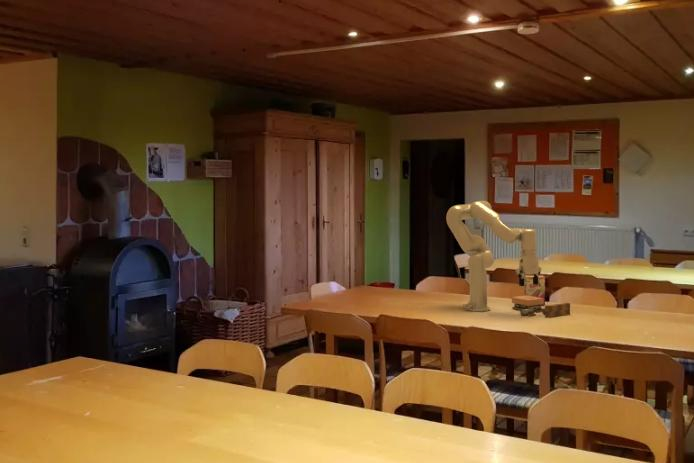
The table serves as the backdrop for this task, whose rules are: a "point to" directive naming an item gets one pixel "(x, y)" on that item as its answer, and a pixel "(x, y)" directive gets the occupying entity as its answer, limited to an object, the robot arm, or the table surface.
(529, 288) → the candy bar box
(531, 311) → the roller
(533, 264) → the robot arm
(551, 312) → the rail
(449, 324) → the table surface
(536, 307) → the roller track
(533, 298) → the slab
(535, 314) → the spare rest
